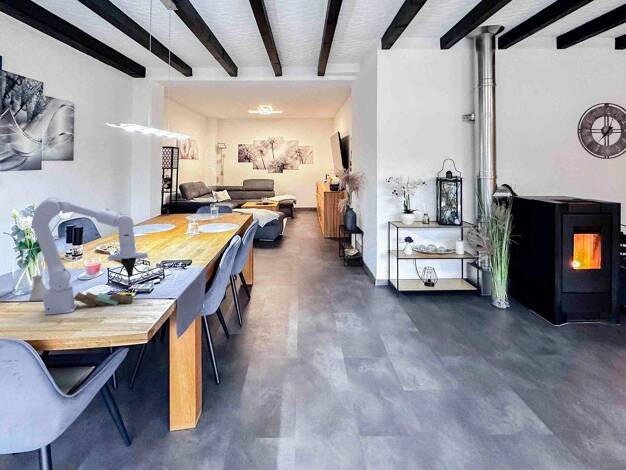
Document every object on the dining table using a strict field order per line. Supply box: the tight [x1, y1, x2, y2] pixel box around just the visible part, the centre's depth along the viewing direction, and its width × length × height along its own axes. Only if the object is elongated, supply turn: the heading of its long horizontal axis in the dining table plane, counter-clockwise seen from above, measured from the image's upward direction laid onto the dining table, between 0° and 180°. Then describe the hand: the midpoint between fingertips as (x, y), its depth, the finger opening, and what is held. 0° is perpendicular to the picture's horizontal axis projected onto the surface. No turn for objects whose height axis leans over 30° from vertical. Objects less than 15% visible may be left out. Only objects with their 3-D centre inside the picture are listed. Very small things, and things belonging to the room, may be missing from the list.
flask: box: [29, 274, 48, 302], centre depth 157 cm, size 7×7×10 cm
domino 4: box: [109, 292, 134, 305], centre depth 153 cm, size 2×4×8 cm
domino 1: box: [74, 291, 97, 308], centre depth 149 cm, size 2×4×8 cm
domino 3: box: [96, 292, 119, 306], centre depth 152 cm, size 2×4×8 cm
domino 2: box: [83, 291, 107, 307], centre depth 150 cm, size 2×4×8 cm
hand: (130, 275), depth 156 cm, fingers closed
